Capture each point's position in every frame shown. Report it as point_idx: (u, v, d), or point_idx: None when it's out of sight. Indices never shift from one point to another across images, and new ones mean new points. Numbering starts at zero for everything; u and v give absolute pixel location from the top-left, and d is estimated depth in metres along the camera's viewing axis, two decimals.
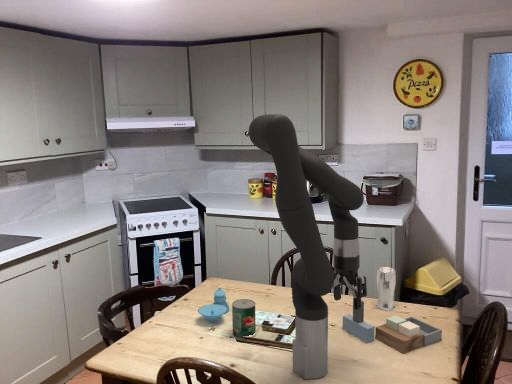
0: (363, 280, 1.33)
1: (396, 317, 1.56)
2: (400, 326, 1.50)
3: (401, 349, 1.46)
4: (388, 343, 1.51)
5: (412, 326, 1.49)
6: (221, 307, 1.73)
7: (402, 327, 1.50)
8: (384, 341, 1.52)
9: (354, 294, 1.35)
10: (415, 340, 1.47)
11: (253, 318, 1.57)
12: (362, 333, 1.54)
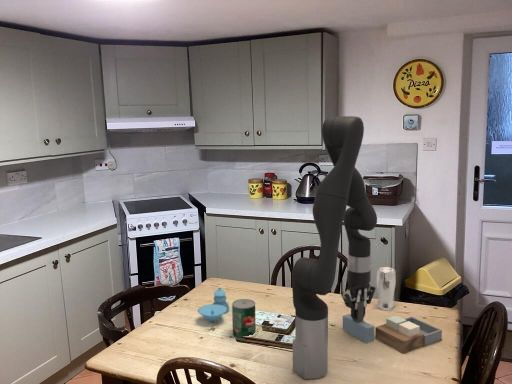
0: None
1: (396, 317, 1.56)
2: (400, 326, 1.50)
3: (401, 349, 1.46)
4: (388, 343, 1.51)
5: (412, 326, 1.49)
6: (221, 307, 1.73)
7: (402, 327, 1.50)
8: (384, 341, 1.52)
9: (365, 303, 1.57)
10: (415, 340, 1.47)
11: (253, 318, 1.57)
12: (362, 333, 1.54)
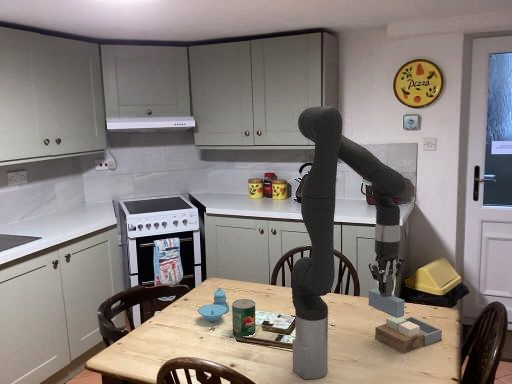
0: None
1: None
2: (400, 326, 1.50)
3: (401, 349, 1.46)
4: (388, 343, 1.51)
5: (412, 326, 1.49)
6: (221, 307, 1.73)
7: (402, 327, 1.50)
8: (384, 341, 1.52)
9: (393, 276, 1.46)
10: (415, 340, 1.47)
11: (253, 318, 1.57)
12: (391, 308, 1.43)
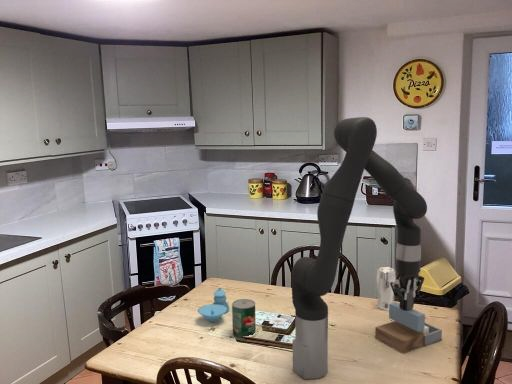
0: None
1: None
2: None
3: (401, 349, 1.46)
4: (388, 343, 1.51)
5: None
6: (221, 307, 1.73)
7: None
8: (384, 341, 1.52)
9: (413, 294, 1.52)
10: (415, 340, 1.47)
11: (253, 318, 1.57)
12: (412, 321, 1.49)
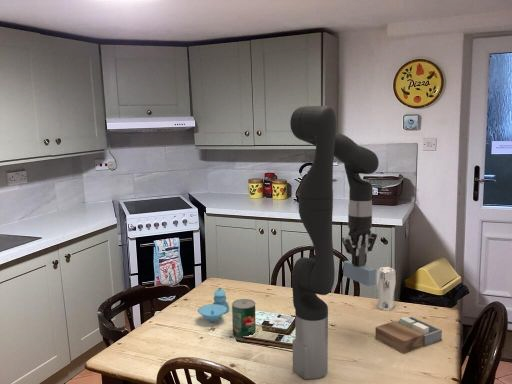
0: None
1: None
2: (418, 323, 1.55)
3: (401, 349, 1.46)
4: (388, 343, 1.51)
5: None
6: (221, 307, 1.73)
7: (420, 324, 1.54)
8: (384, 341, 1.52)
9: (366, 250, 1.54)
10: (415, 340, 1.47)
11: (253, 318, 1.57)
12: (363, 276, 1.51)
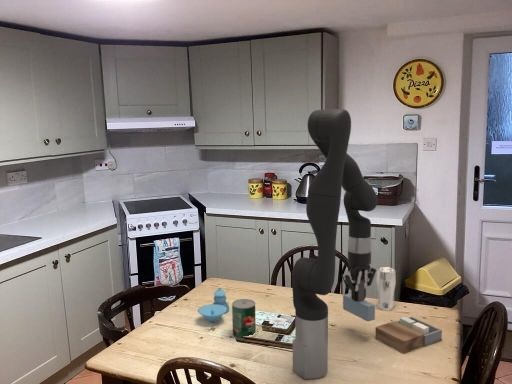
0: None
1: None
2: (418, 323, 1.55)
3: (401, 349, 1.46)
4: (388, 343, 1.51)
5: None
6: (221, 307, 1.73)
7: (420, 324, 1.54)
8: (384, 341, 1.52)
9: (365, 285, 1.56)
10: (415, 340, 1.47)
11: (253, 318, 1.57)
12: (363, 312, 1.53)
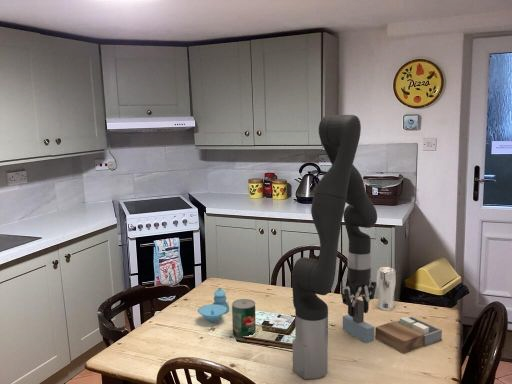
0: None
1: None
2: (418, 323, 1.55)
3: (401, 349, 1.46)
4: (388, 343, 1.51)
5: None
6: (221, 307, 1.73)
7: (420, 324, 1.54)
8: (384, 341, 1.52)
9: (368, 299, 1.57)
10: (415, 340, 1.47)
11: (253, 318, 1.57)
12: (362, 333, 1.54)
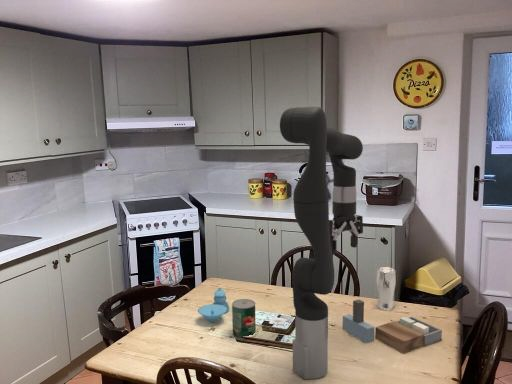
0: None
1: None
2: (418, 323, 1.55)
3: (401, 349, 1.46)
4: (388, 343, 1.51)
5: None
6: (221, 307, 1.73)
7: (420, 324, 1.54)
8: (384, 341, 1.52)
9: (357, 233, 1.53)
10: (415, 340, 1.47)
11: (253, 318, 1.57)
12: (362, 333, 1.54)
